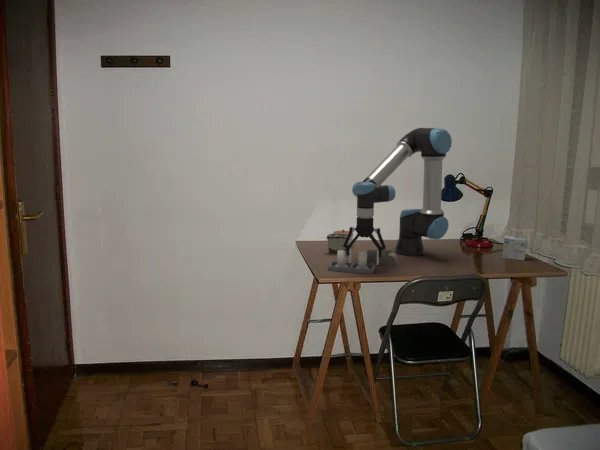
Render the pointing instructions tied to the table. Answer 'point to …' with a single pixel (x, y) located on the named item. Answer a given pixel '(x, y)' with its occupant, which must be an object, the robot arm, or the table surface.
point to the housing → (348, 265)
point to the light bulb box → (514, 248)
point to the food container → (336, 243)
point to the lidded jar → (345, 233)
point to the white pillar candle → (362, 260)
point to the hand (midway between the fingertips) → (363, 263)
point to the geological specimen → (382, 257)
